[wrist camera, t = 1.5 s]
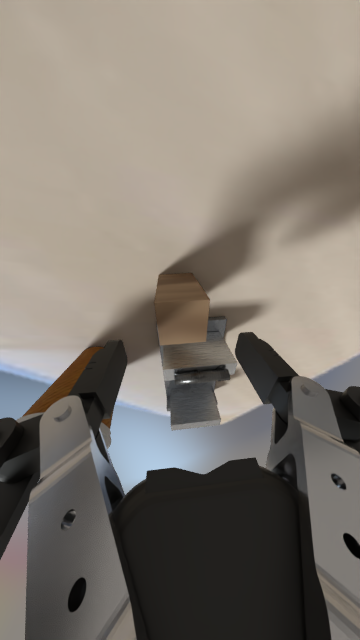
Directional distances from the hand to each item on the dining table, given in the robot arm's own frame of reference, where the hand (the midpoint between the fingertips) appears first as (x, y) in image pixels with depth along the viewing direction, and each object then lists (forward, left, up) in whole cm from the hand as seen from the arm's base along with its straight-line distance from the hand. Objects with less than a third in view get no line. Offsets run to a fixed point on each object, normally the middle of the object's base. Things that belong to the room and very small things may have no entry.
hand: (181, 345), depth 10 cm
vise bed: (+13, +2, -10) cm, 17 cm away
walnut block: (-1, 0, -10) cm, 10 cm away
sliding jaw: (+7, +2, -10) cm, 12 cm away
